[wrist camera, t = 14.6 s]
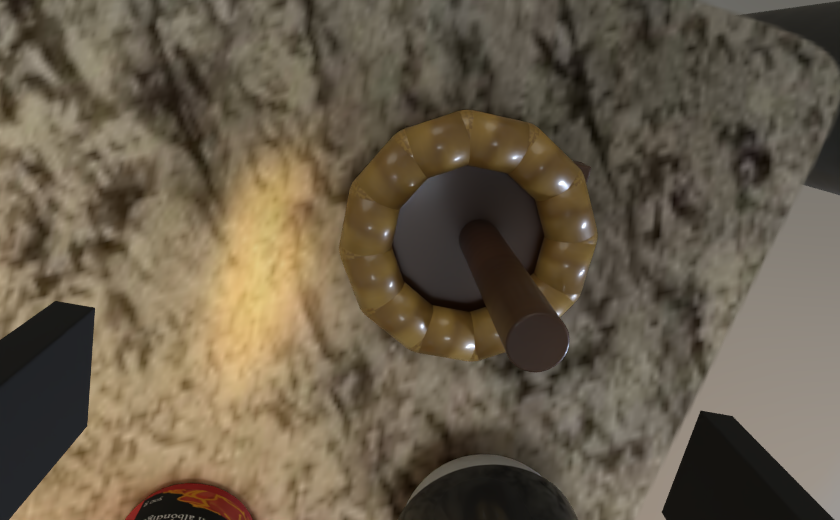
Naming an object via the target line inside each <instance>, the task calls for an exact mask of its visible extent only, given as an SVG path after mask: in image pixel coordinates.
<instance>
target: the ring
mask: <svg viewBox="0 0 840 520" xmlns="http://www.w3.org/2000/svg"><path fill="white" fill-rule="evenodd" d="M467 165H468V166H473V167H478V168H483V169H488V170H492V171H497V172H502V173H507V174H508V175H509V176H510V177H511V178H512V179H513V180H514V181H515V182H517V183H518V184H519V185H520V186H521V187H522V188H523V189H524V190H525V191H526V192H527V193H528V194H529V195H530V196H531V197H533V198H534V199H535V202H536V206H537V209H538V213H539V217H540V221H541V224H542V228H543V232H544V239H543V243H542V246H541V250H540V253H539V257H538V260H537V264H536V267H535V271H534V273H533V274H532V275H531V278H532V279H533V280H534V282H535V283H536V285H537V286H538V287H539V289H540V290H541V292H542V293H543V295H544V296H545V297H546V299H547V300H548V302H549V303H550V304H551V306H552V307H553V309H554V310H555V312H556V313H557V314H558V316H559V317H561V316H562V315H563V314H564V313H565V312H566V311H567V310H568V309H569V308H570V307H571V306H572V305H573V304H574V303H575V302H576V301H577V299H578V298H579V297H580V294H581V292H582V288H583V285H584V282H585V279H586V275H587V272H588V269H589V266H590V262H591V259H592V256H593V253H594V249H595V246H596V243H597V238H598V233H597V227H596V223H595V219H594V215H593V211H592V206H591V202H590V198H589V194H588V190H587V186H586V181H585V178H584V175H583V173H582V171H581V169H580V168H579V167H578V166H577V165H576V164H575V163H574V162H573V161H572V160H571V159H570V158H569V157H568V156H567V155H566V154H565V153H564V152H563V151H562V150H561V149H560V148H559V147H557V146H556V145H555V144H554V143H553V142H552V141H551V140H550V139H549V138H548V137H547V136H546V135H545V134H544V133H543V132H542V131H541V130H540V129H539V128H538V127H537V126H535V125H533V124H531V123H528V122H524V121H520V120H515V119H510V118H506V117H501V116H497V115H492V114H488V113H483V112H479V111H474V110H460V111H456V112H453V113H450V114H447V115H444V116H441V117H438V118H435V119H432V120H429V121H426V122H423V123H420V124H417V125H414V126H411V127H408V128H405V129H403V130H401V131H399V132H397V133H396V134H395V135H394V136H393V137H392V138H391V139H390V140H389V141H388V142H387V143H386V145H385V146H384V147H383V148H382V149H381V150H380V151H379V153H378V154H377V155H376V156H375V157H374V158H373V159H372V161H371V162H370V163H369V164H368V165H367V166H366V167H365V169H364V170H363V171H362V172H361V173H360V174H359V175H358V176H357V178H356V179H355V180H354V181H353V183H352V185H351V187H350V191H349V196H348V201H347V207H346V212H345V218H344V223H343V228H342V234H341V239H340V245H339V251H340V256H341V259H342V262H343V265H344V267H345V270H346V273H347V275H348V278H349V280H350V283H351V286H352V288H353V291H354V294H355V296H356V299H357V302H358V304H359V307H360V309H361V310H362V312H363V313H364V314H365V315H366V316H367V317H368V318H370V319H371V320H372V321H373V322H375V323H376V324H377V325H378V326H380V327H381V328H382V329H383V330H385V331H386V332H387V333H388V334H390V335H391V336H392V337H394V338H395V339H396V340H397V341H399V342H400V343H401V344H402V345H404V346H405V347H406V348H407V349H409V350H411V351H413V352H417V353H422V354H428V355H434V356H440V357H446V358H451V359H457V360H463V361H471V362H473V361H479V360H482V359H485V358H488V357H492V356H495V355H498V354H501V353H504V352H506V351H505V349H504V347H503V344H502V342H501V340H500V337H499V335H498V333H497V331H496V328H495V326H494V324H493V321H492V319H491V317H490V314H489V312H488V310H487V308H486V307H483V308H480V309H477V310H474V311H471V312H468V311H462V310H457V309H451V308H446V307H440V306H434V305H432V304H430V303H429V302H428V301H427V300H426V299H424V298H423V297H422V296H421V295H419V294H418V293H417V292H416V291H415V290H413V289H412V288H411V287H410V286H409V285H407V284H406V283H405V282H404V280H403V277H402V275H401V272H400V269H399V266H398V263H397V260H396V257H395V255H394V252H393V249H392V244H393V239H394V234H395V230H396V225H397V220H398V215H399V211H400V208H401V207H402V206H403V205H404V204H405V203H406V202H407V201H408V199H409V198H410V197H411V196H412V195H413V194H414V193H415V192H416V191H417V190H418V188H419V187H420V186H421V185H422V184H423V183H424V182H425V181H426V180H427V179H428V178H430V177H433V176H436V175H439V174H442V173H446V172H449V171H452V170H455V169H458V168H461V167H464V166H467Z"/></svg>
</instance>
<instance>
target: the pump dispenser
mask: <svg viewBox="0 0 840 520" xmlns="http://www.w3.org/2000/svg"><path fill="white" fill-rule="evenodd" d="M398 520H578V519H577V516H576V514H575V512H574V510H573V508H572V506H571V504H570V503H569V501H568V500H567V498H566V497H565V496H564V494H563V493H562V492H561V491H560V490H559V489H558V488H557V487H556V486H555V485H553V484H552V483H551V482H549V481H548V480H547V479H545V478H543V477H542V476H541V475H540V474H538V473H537V472H536V471H534V470H533V469H531V468H530V467H528V466H526V465H525V464H523V463H521V462H518V461H516V460H514V459H511V458H508V457H503V456H499V455H491V454H477V455H469V456H464V457H461V458H457V459H455V460H452V461H450V462H448V463H446V464H444V465H442V466H440V467H439V468H437V469H436V470H434V471H433V472H432V473H430V474H429V475H428V476H427V477H426V478H425V479H424V480H423V481H422V482H421V483H420V484H419V485H418V487H417V488H416V489H415V491H414V492H413V494H412V495H411V497H410V498H409V500H408V502H407V504H406V507H405V508H404V509H403V511H402V513H401V514H400V516H399V518H398Z"/></svg>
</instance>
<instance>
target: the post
mask: <svg viewBox="0 0 840 520" xmlns="http://www.w3.org/2000/svg"><path fill="white" fill-rule="evenodd" d="M408 127H410V126H407V127H406V128H408ZM573 162H574V163H575V164H576V165H577V166H578V167H579V168H580V169H581V171H582V173H583V175H584V178H585V181H586V185H587V181H588V178H589V174H590V171H591V167H590V166H588V165H586V164H583V163H581V162H577V161H573ZM543 239H544V232H543V228H542V224H541V221H540V217H539V213H538V209H537V206H536V202H535V199H534V198H533V197H531V196H530V195H529V194H528V193H527V192H526V191H525V190H524V189H523V188H522V187H521V186H520V185H519V184H518V183H517V182H515V181H514V180H513V179H512V178H511V177H510V176H509V175H508V174H507V173H502V172H497V171H492V170H488V169H483V168H478V167H473V166H468V165H467V166H464V167H461V168H458V169H455V170H452V171H449V172H446V173H442V174H439V175H436V176H433V177H430V178H428V179H427V180H426V181H425V182H424V183H423V184H422V185H421V186H420V187H419V188H418V190H417V191H416V192H415V193H414V194H413V195H412V196H411V197H410V198H409V199H408V201H407V202H406V203H405V204H404V205H403V206H402V207H401V208H400V211H399V215H398V220H397V225H396V230H395V234H394V239H393V244H392V249H393V252H394V255H395V257H396V260H397V263H398V266H399V269H400V272H401V275H402V277H403V280H404V282H405V283H406V284H407V285H409V286H410V287H411V288H412V289H413V290H415V291H416V292H417V293H418V294H419V295H421V296H422V297H423V298H424V299H426V300H427V301H428V302H429V303H430V304H432V305H434V306H440V307H446V308H451V309H457V310H462V311H468V312H471V311H474V310H477V309H480V308H483V307H486V308H487V310H488V312H489V314H490V317H491V319H492V321H493V324H494V326H495V328H496V331H497V333H498V335H499V337H500V340H501V342H502V344H503V347H504V349H505V351H506V354H507V356H508V358H509V359H510V361H511V362H512V363H513V364H514V365H515V366H517V367H518V368H520V369H522V370H525V371H529V372H542V371H546V370H548V369H550V368H552V367H554V366H556V365H557V364H558V363H559V362H560V361H561V360H562V359H563V358H564V356H565V354H566V352H567V350H568V347H569V333H568V330H567V328H566V326H565V324H564V323H563V321H562V320H561V319H560V317H559V316H558V314H557V313H556V312H555V310H554V309H553V307H552V306H551V304H550V303H549V302H548V300H547V299H546V297H545V296H544V295H543V293H542V292H541V290H540V289H539V287H538V286H537V285H536V283H535V282H534V280H533V279H532V278H531V275H532V274H533V273H534V271H535V267H536V264H537V260H538V257H539V253H540V250H541V246H542V243H543Z"/></svg>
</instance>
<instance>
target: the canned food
mask: <svg viewBox="0 0 840 520" xmlns="http://www.w3.org/2000/svg"><path fill="white" fill-rule="evenodd" d="M125 520H252V517H251V515H250V513H249V512H248V510H247V509H246V507H245V506H244V505H243V504H242V503H241V502H240V501H239V500H238V499H237V498H236V497H234V496H233V495H231V494H229V493H228V492H226V491H224V490H222V489H219V488H217V487H214V486H210V485H205V484H197V483H185V484H177V485H172V486H169V487H166V488H163V489H161V490H159V491H157V492H155V493H153V494H151V495H150V496H149V497H147V498H146V499H145V500H143V501H142V502H141V503H140V504H139V505H137V506H136V507H135V508H134V509H133V510H132V511H131V513H130V514H129V515H128V516H127V517H126V519H125Z"/></svg>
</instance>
